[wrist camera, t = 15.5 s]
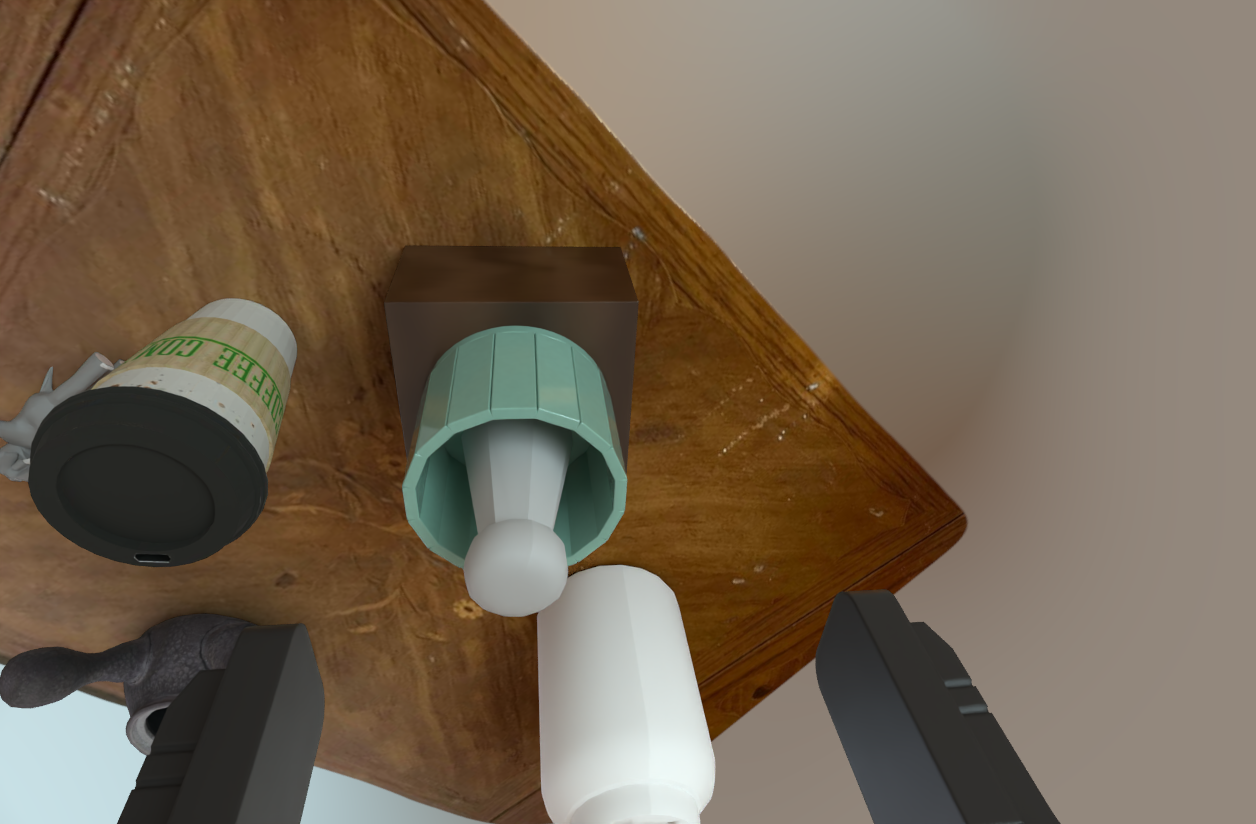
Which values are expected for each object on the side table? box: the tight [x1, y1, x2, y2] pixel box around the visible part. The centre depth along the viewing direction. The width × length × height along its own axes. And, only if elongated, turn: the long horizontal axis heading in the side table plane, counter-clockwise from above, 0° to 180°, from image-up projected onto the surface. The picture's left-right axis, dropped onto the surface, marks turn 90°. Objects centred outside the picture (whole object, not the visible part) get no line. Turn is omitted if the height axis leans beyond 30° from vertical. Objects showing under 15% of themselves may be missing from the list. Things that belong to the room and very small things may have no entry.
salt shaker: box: [461, 419, 573, 617], centre depth 34 cm, size 6×6×13 cm
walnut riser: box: [384, 246, 638, 473], centre depth 43 cm, size 13×13×8 cm
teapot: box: [0, 613, 258, 756], centre depth 53 cm, size 19×15×10 cm
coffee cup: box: [28, 299, 297, 567], centre depth 38 cm, size 10×10×15 cm
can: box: [537, 565, 715, 824], centre depth 54 cm, size 12×12×20 cm
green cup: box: [402, 326, 627, 569], centre depth 37 cm, size 10×10×8 cm
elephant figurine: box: [0, 352, 125, 482], centre depth 43 cm, size 10×6×9 cm
